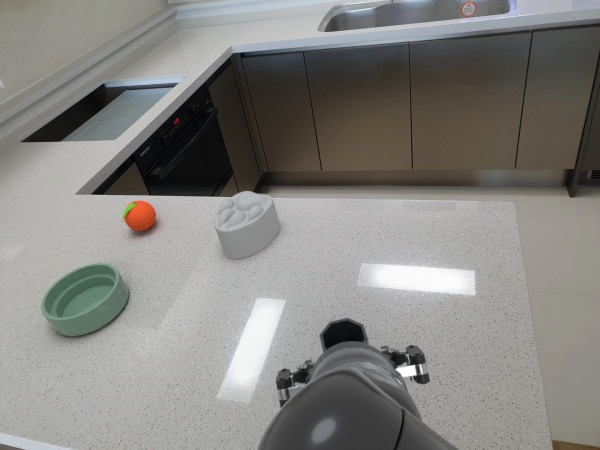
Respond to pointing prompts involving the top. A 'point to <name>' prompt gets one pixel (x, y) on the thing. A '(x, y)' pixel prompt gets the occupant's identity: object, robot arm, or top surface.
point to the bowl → (85, 299)
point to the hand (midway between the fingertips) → (347, 362)
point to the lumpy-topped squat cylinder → (246, 224)
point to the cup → (342, 333)
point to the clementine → (139, 215)
